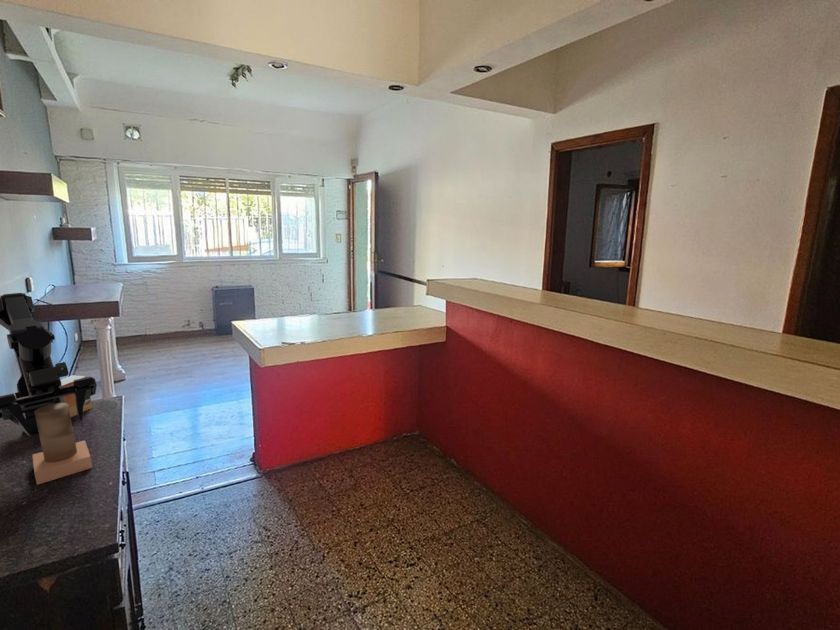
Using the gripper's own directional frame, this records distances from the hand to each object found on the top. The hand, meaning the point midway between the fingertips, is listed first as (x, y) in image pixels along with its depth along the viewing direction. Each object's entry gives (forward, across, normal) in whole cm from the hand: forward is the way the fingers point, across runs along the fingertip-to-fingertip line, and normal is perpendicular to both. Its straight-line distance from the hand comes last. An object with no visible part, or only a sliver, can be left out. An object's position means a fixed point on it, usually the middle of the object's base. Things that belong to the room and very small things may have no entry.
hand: (56, 428), depth 100 cm
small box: (-17, +8, +33) cm, 38 cm away
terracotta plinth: (+6, 0, +8) cm, 11 cm away
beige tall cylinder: (+4, 0, +6) cm, 8 cm away
